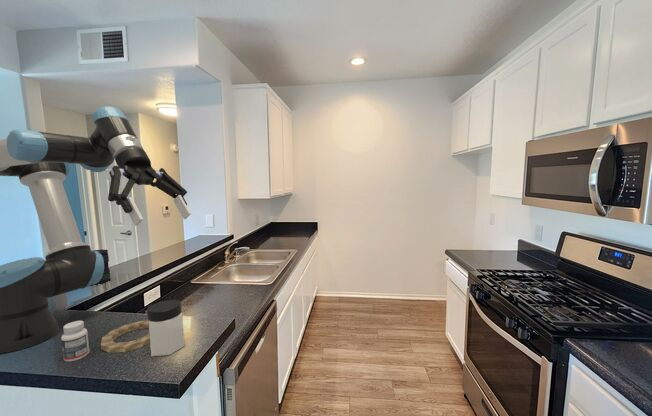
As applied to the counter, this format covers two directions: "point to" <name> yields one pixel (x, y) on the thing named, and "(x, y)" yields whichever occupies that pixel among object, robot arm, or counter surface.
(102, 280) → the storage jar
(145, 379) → the counter surface
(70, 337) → the pill bottle
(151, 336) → the jar
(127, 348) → the bead ring
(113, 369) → the counter surface
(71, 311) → the counter surface
